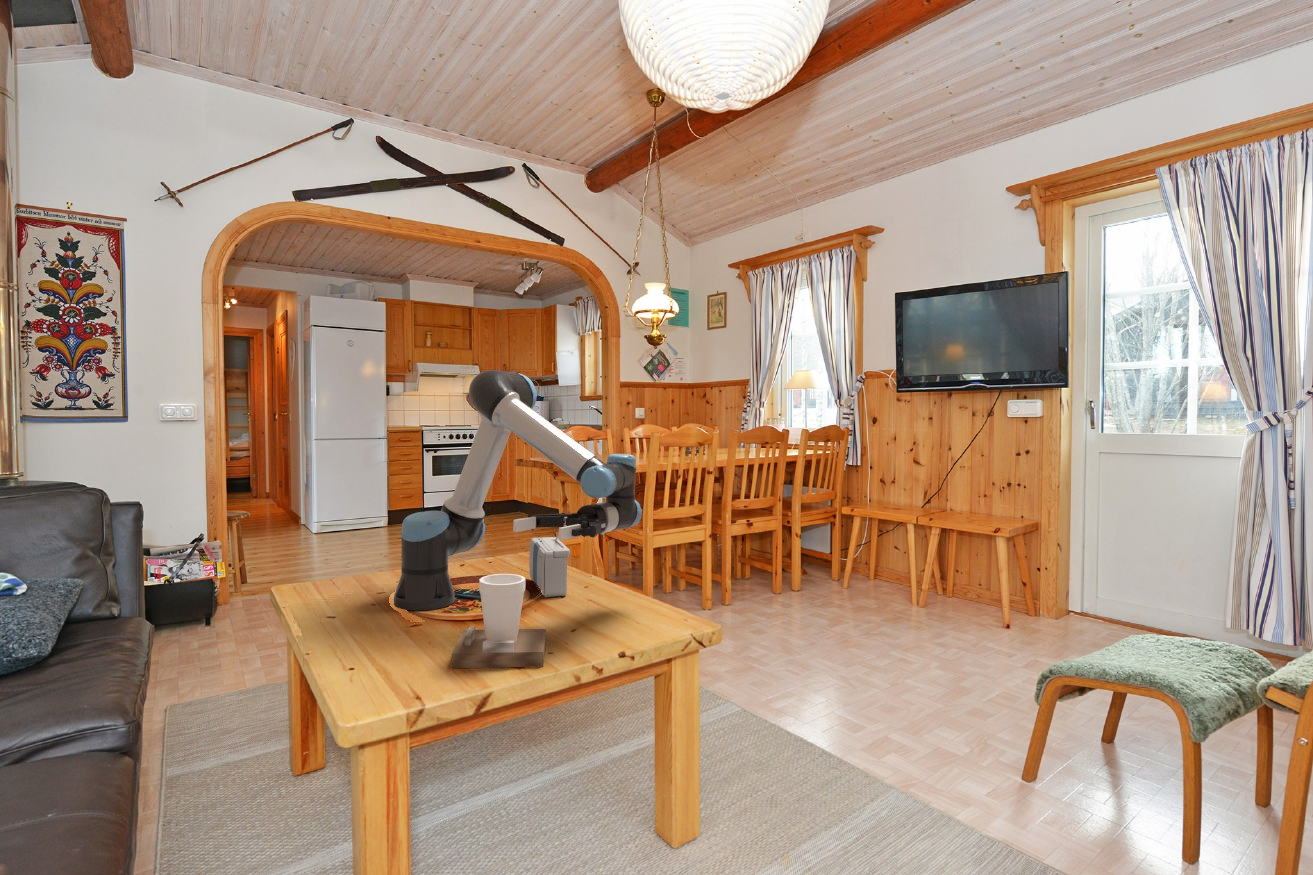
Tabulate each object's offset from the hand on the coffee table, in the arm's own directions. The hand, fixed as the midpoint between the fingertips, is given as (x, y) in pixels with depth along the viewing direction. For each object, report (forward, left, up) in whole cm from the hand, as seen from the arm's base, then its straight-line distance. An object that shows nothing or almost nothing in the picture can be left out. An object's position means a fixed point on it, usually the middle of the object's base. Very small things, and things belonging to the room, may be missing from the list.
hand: (536, 530), depth 151 cm
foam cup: (-6, -7, -22) cm, 24 cm away
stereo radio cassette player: (+1, +45, -25) cm, 52 cm away
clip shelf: (-6, -7, -25) cm, 27 cm away
